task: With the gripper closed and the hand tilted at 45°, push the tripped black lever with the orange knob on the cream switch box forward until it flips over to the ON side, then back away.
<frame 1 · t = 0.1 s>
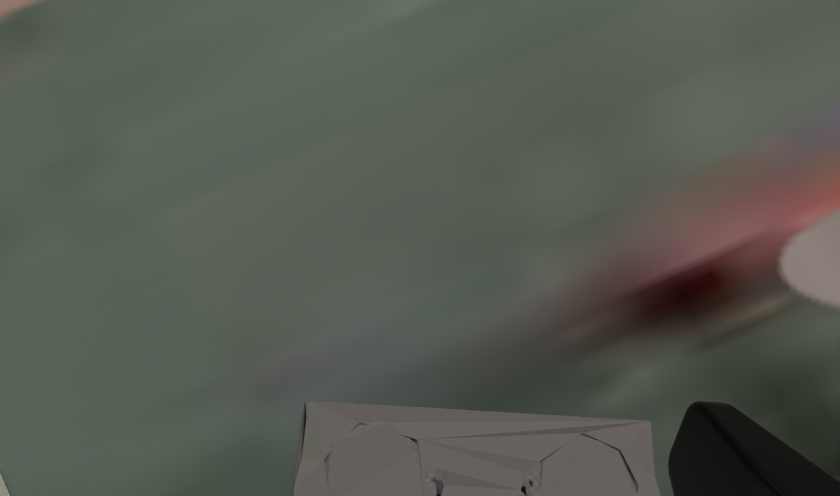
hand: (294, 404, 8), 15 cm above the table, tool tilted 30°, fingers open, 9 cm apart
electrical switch: (420, 477, 23), on the table
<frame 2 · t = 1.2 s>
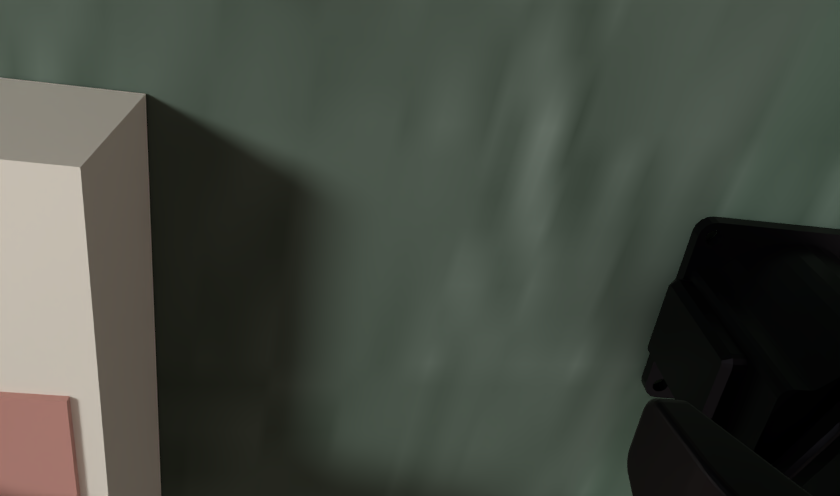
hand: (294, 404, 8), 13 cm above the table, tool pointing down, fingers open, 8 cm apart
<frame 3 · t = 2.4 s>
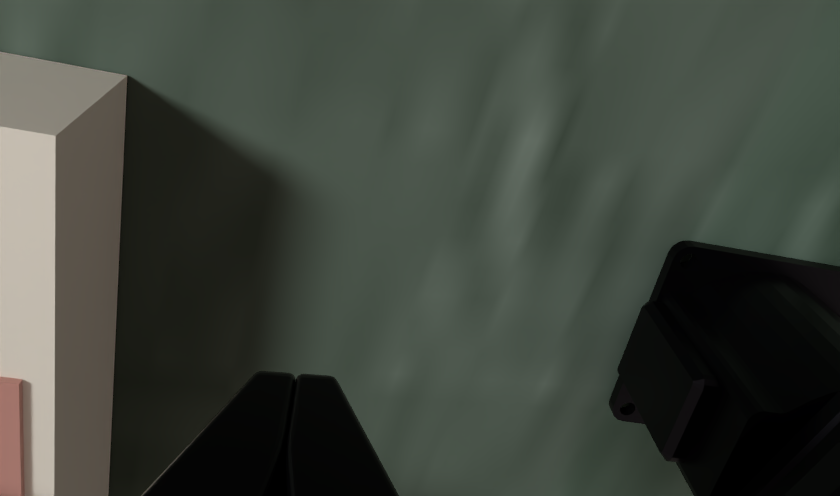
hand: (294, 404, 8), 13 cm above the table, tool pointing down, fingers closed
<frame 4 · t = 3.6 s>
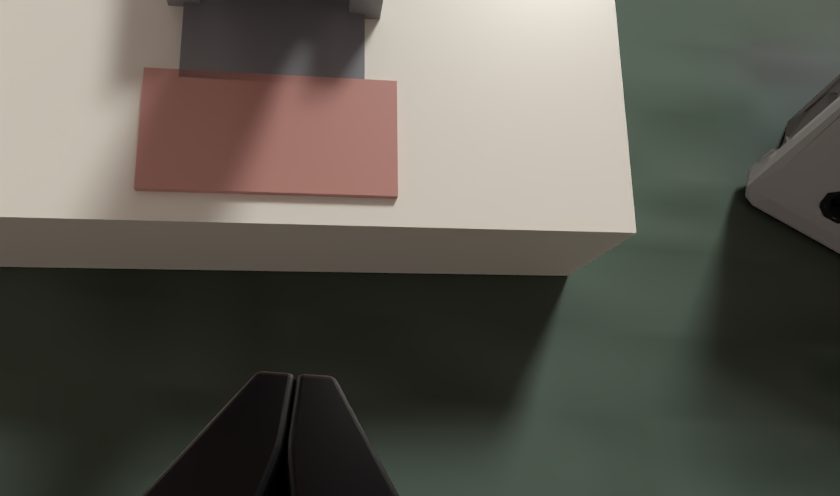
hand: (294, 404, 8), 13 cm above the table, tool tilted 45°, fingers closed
breaker housing: (283, 57, 24), on the table
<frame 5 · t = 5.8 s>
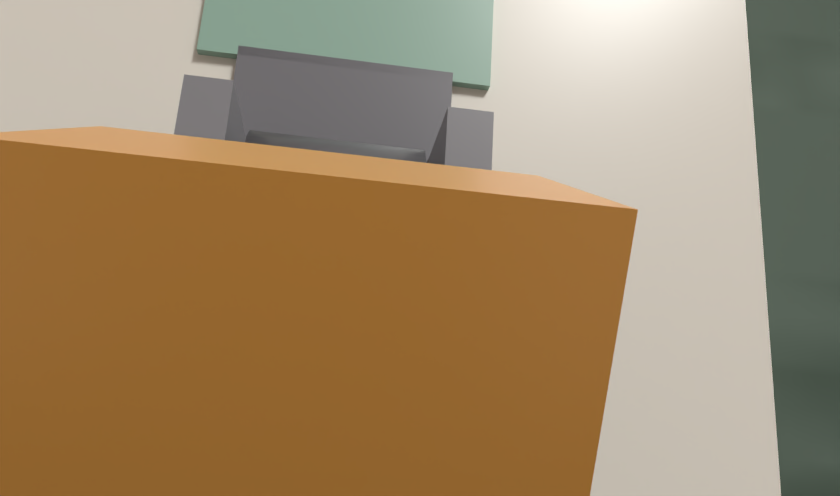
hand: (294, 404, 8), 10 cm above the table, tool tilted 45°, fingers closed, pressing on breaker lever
breaker lever: (324, 238, 9), point 10 cm above the table, hinge at -26.4°, touching gripper
breaker housing: (326, 283, 19), on the table
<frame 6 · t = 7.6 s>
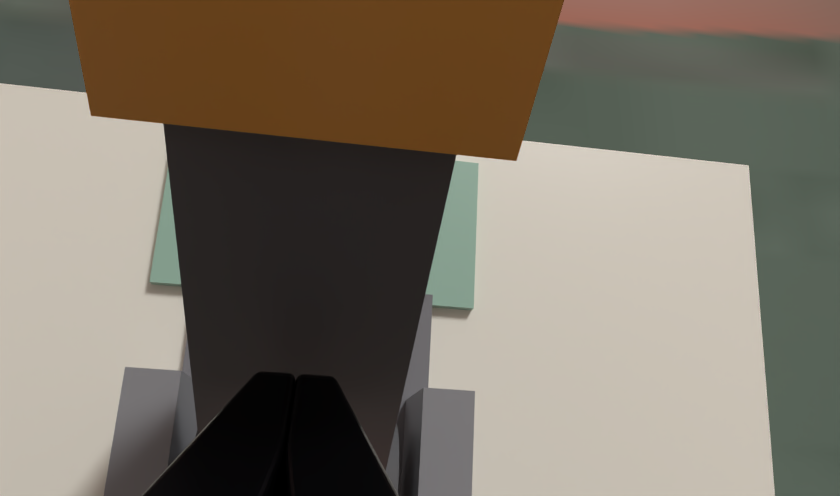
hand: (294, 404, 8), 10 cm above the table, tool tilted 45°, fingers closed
breaker lever: (307, 303, 9), point 10 cm above the table, hinge at 29.4°
breaker housing: (302, 476, 18), on the table
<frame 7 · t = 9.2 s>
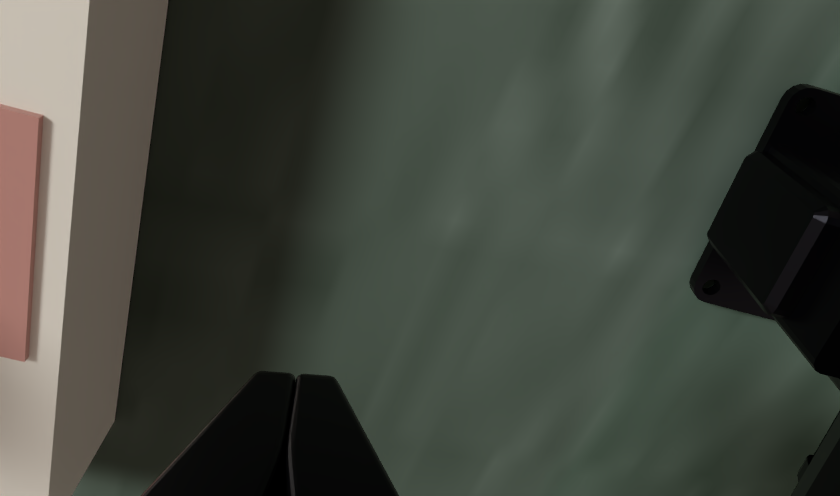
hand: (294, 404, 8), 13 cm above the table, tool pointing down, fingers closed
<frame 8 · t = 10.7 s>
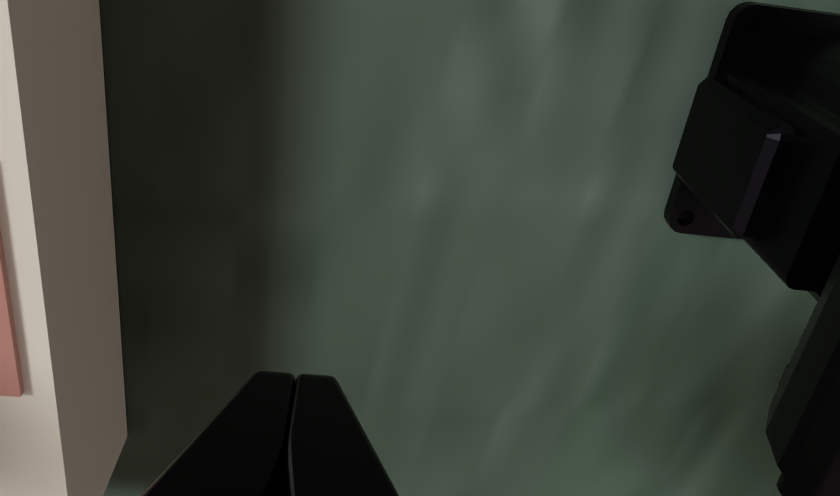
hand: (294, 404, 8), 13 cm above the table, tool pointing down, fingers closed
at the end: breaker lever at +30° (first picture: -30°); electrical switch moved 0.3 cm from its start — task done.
